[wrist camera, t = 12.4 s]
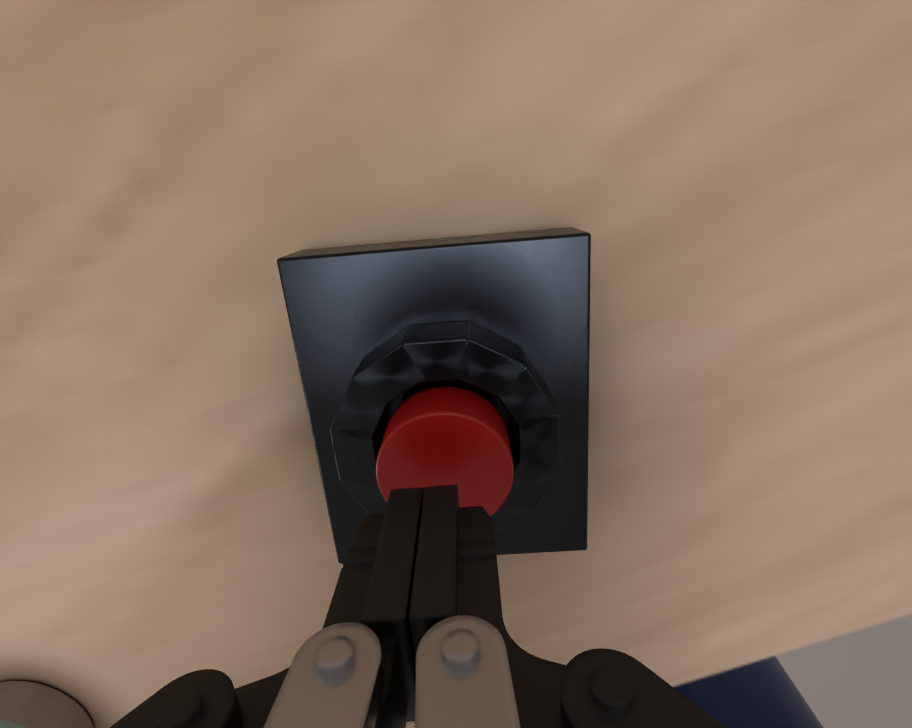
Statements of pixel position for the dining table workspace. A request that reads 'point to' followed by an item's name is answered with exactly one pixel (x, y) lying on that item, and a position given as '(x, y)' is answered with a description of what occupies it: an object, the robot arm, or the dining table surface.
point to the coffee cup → (39, 707)
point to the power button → (448, 447)
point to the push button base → (451, 364)
